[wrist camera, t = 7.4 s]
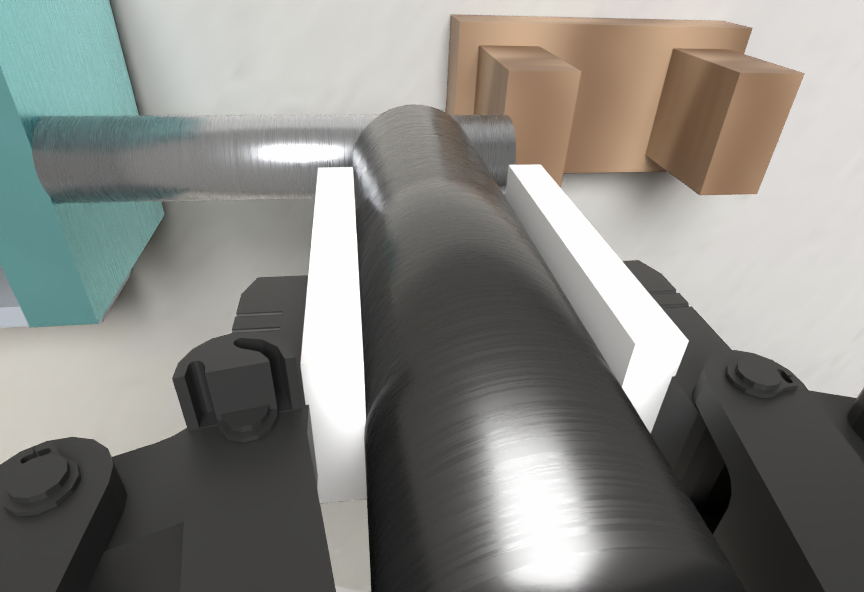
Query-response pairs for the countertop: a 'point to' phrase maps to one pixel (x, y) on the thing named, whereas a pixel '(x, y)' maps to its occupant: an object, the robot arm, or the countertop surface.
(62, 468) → the robot arm
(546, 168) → the rod stand
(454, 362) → the lever handle
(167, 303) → the countertop surface
